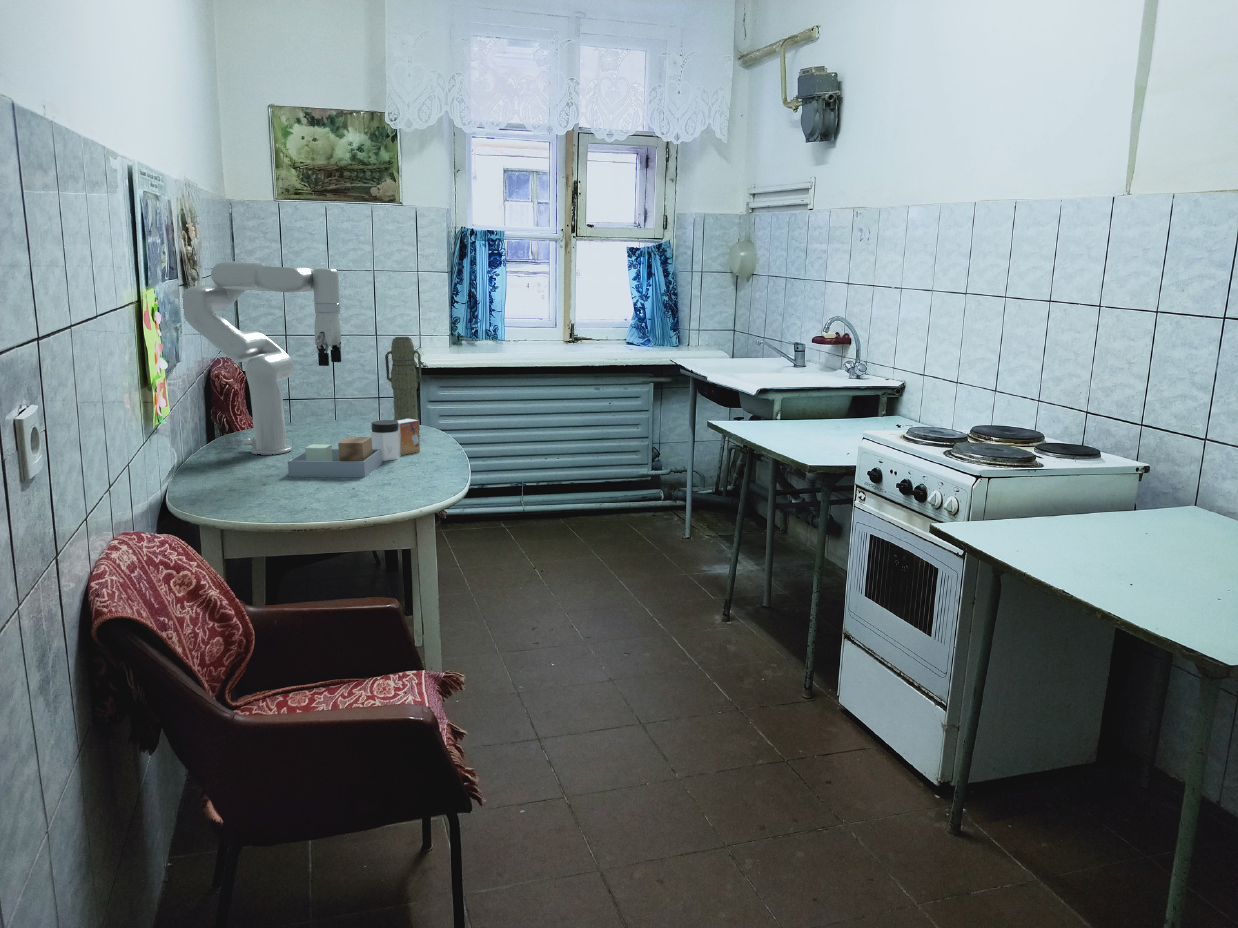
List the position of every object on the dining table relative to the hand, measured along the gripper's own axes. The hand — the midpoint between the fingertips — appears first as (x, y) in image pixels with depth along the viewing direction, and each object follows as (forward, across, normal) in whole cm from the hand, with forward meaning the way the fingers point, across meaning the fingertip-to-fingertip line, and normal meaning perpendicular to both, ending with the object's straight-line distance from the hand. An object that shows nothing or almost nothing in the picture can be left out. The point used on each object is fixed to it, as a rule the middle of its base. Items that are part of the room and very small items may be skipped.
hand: (330, 363), depth 285 cm
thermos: (+29, -29, +14) cm, 44 cm away
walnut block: (+28, +24, +16) cm, 40 cm away
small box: (+29, -4, +22) cm, 37 cm away
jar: (+29, +7, +20) cm, 36 cm away
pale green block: (+28, +25, +5) cm, 38 cm away
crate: (+29, +24, +10) cm, 39 cm away
